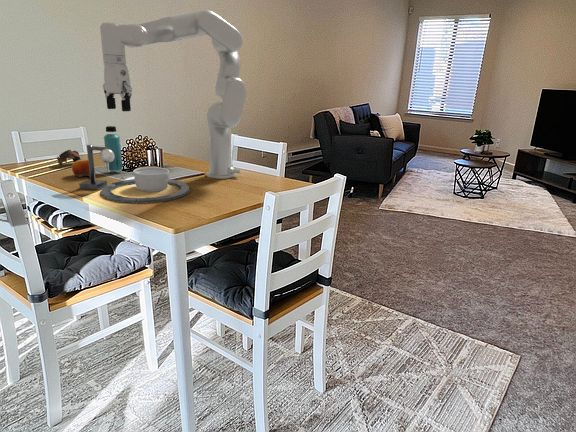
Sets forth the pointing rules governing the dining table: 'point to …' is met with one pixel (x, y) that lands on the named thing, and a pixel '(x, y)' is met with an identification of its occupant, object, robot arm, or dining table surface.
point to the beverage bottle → (113, 148)
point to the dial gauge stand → (92, 183)
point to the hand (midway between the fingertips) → (118, 110)
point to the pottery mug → (68, 156)
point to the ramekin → (151, 178)
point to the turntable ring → (109, 195)
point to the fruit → (81, 168)
